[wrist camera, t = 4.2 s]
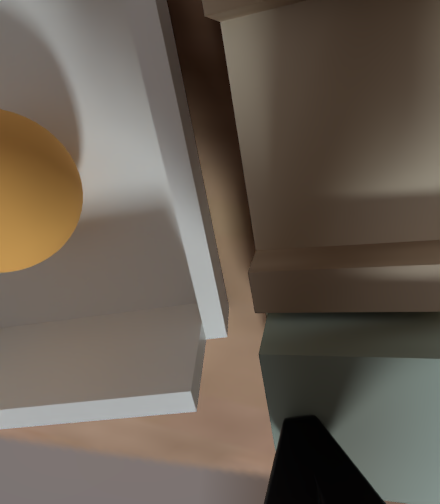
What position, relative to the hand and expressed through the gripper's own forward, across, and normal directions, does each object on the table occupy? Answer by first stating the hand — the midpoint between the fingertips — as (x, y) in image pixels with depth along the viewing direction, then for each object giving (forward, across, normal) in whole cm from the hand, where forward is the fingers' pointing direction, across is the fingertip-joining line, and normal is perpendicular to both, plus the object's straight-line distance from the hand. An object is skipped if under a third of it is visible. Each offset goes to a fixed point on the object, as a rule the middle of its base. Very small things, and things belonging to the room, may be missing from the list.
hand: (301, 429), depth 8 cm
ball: (+2, +6, -6) cm, 8 cm away
